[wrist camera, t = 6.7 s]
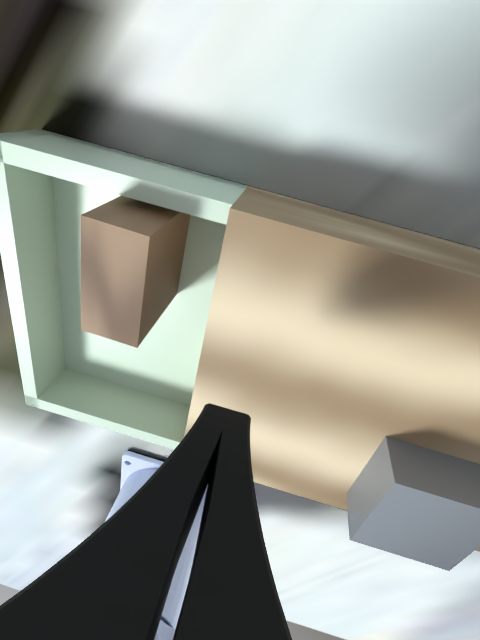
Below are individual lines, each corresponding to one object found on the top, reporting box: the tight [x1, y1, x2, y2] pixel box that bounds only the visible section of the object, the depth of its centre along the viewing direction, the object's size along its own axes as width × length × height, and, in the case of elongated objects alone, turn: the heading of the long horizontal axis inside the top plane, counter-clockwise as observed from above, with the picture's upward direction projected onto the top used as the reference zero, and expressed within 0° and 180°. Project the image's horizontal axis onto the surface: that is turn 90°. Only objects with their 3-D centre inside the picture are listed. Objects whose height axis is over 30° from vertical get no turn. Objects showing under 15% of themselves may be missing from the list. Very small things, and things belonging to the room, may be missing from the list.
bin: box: [0, 129, 248, 449], centre depth 19 cm, size 15×10×4 cm, turn 168°
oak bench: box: [184, 186, 480, 552], centre depth 18 cm, size 15×18×4 cm
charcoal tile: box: [346, 436, 480, 571], centre depth 17 cm, size 5×5×2 cm
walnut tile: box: [81, 196, 191, 348], centre depth 16 cm, size 5×5×2 cm
